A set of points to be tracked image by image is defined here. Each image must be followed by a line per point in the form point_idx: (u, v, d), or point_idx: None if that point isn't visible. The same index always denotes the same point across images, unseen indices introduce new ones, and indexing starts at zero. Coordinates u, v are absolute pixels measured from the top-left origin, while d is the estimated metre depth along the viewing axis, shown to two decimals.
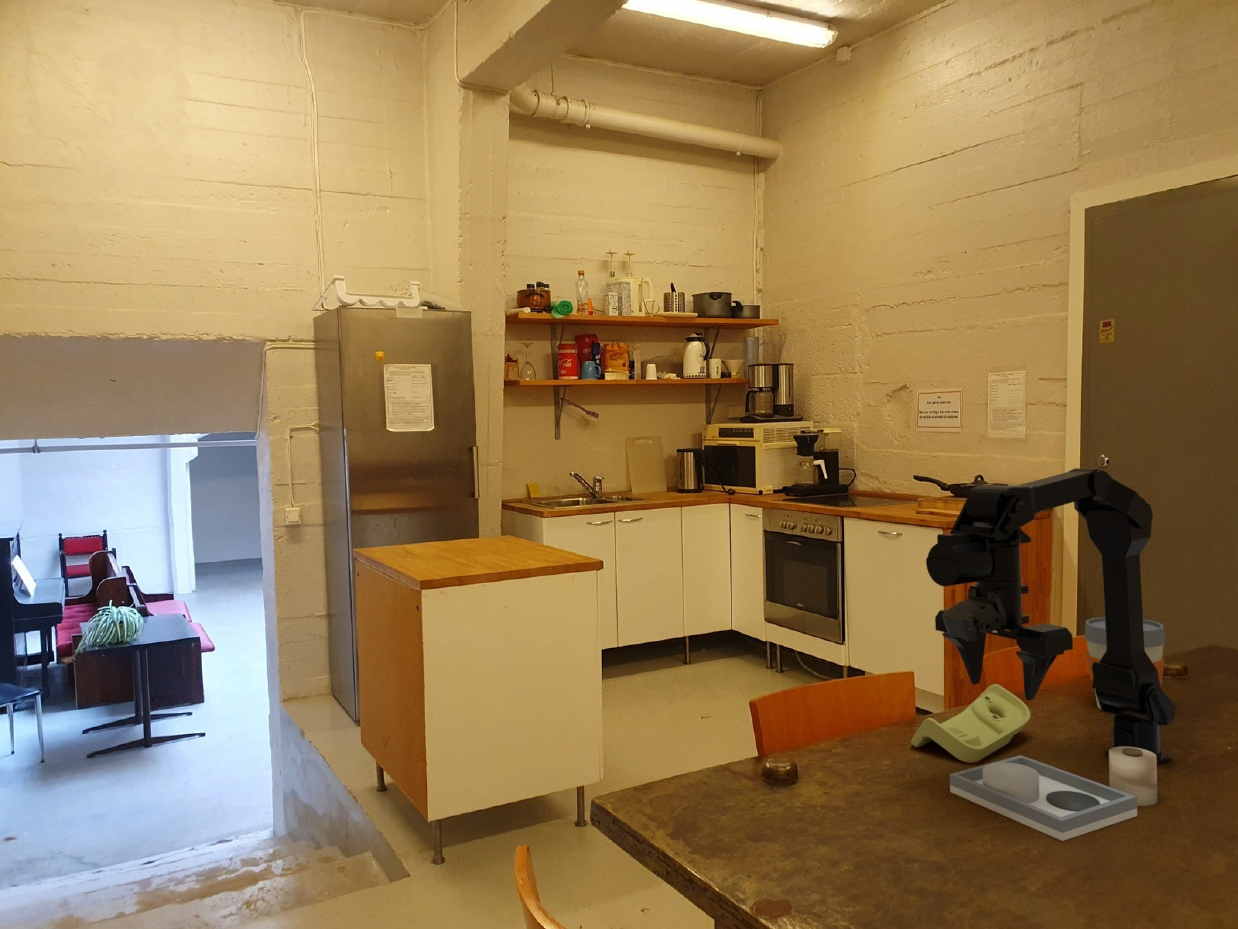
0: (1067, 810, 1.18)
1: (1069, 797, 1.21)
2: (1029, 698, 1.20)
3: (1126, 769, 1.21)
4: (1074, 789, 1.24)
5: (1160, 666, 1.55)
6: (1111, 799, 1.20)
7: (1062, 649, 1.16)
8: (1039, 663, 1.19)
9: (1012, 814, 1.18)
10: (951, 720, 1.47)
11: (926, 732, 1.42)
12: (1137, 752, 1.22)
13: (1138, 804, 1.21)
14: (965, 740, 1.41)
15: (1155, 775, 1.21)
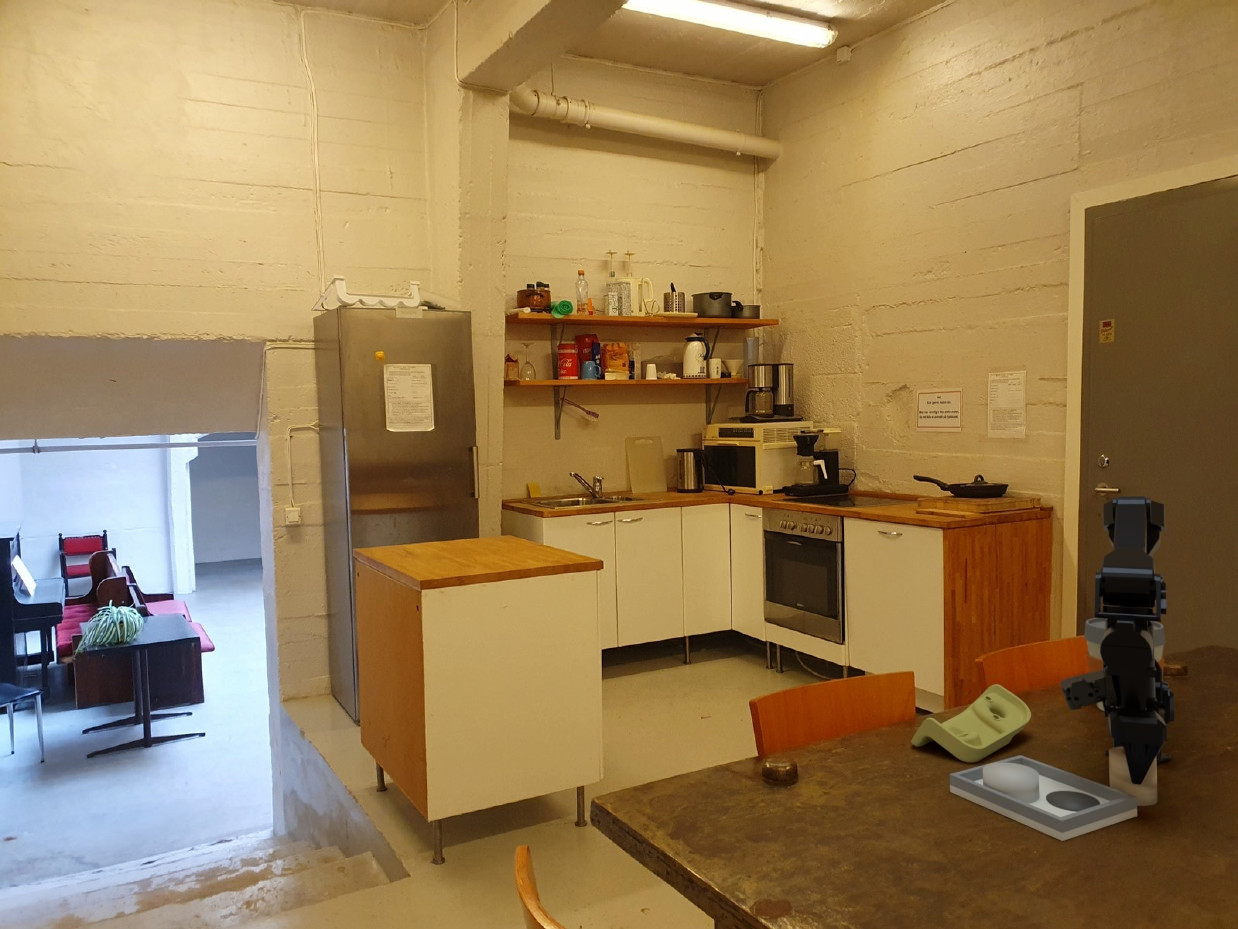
0: (1067, 810, 1.18)
1: (1069, 797, 1.21)
2: (1133, 781, 1.19)
3: (1126, 769, 1.21)
4: (1074, 789, 1.24)
5: (1160, 666, 1.55)
6: (1111, 799, 1.20)
7: (1144, 738, 1.14)
8: (1141, 749, 1.18)
9: (1012, 814, 1.18)
10: (952, 719, 1.47)
11: (926, 732, 1.42)
12: None
13: (1138, 804, 1.21)
14: (965, 740, 1.41)
15: (1155, 775, 1.21)
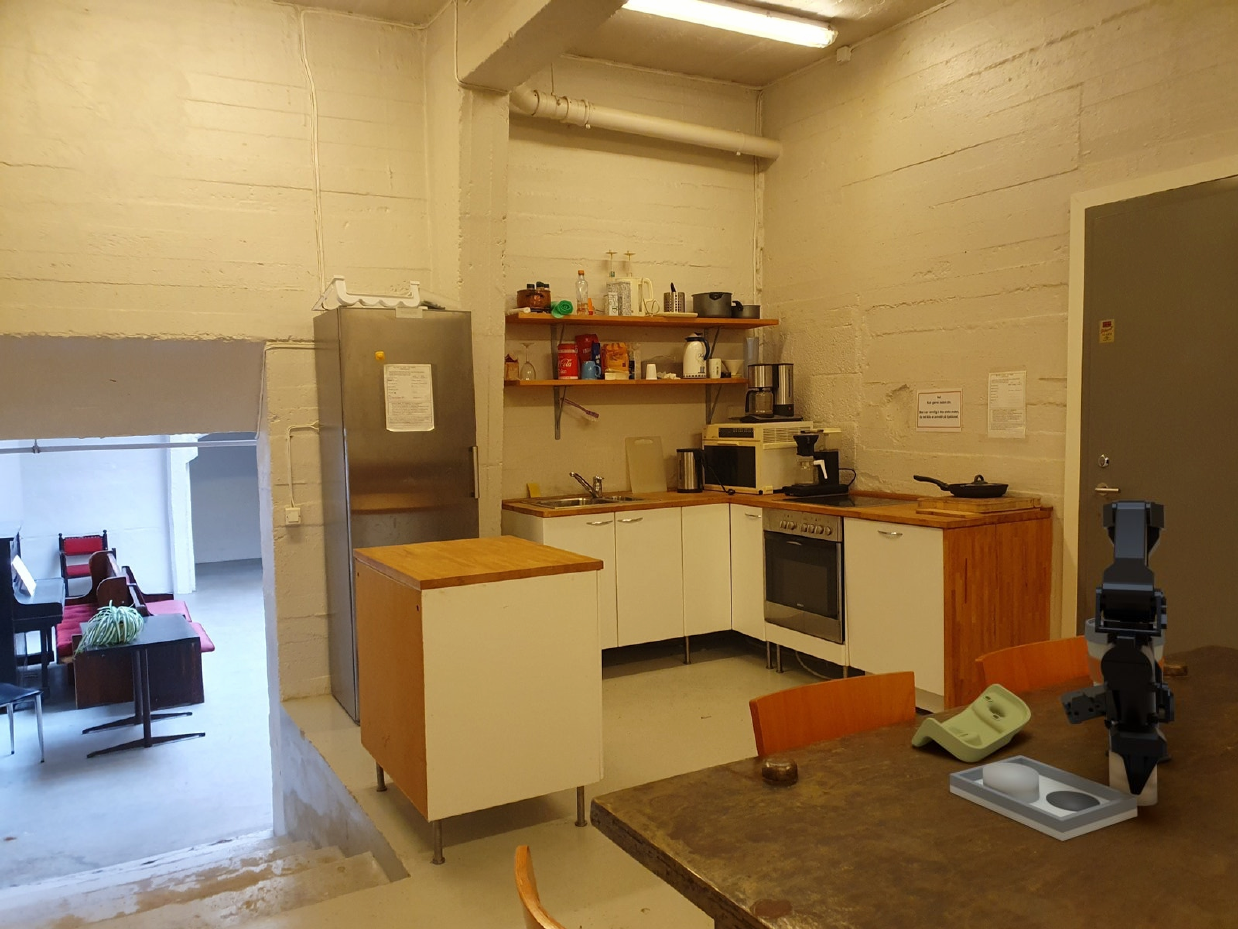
0: (1067, 810, 1.18)
1: (1069, 797, 1.21)
2: (1132, 792, 1.20)
3: None
4: (1074, 789, 1.24)
5: (1160, 666, 1.55)
6: (1111, 799, 1.20)
7: (1145, 754, 1.14)
8: (1140, 760, 1.19)
9: (1012, 814, 1.18)
10: (951, 719, 1.47)
11: (927, 732, 1.43)
12: None
13: (1138, 804, 1.21)
14: (966, 740, 1.41)
15: (1155, 775, 1.21)
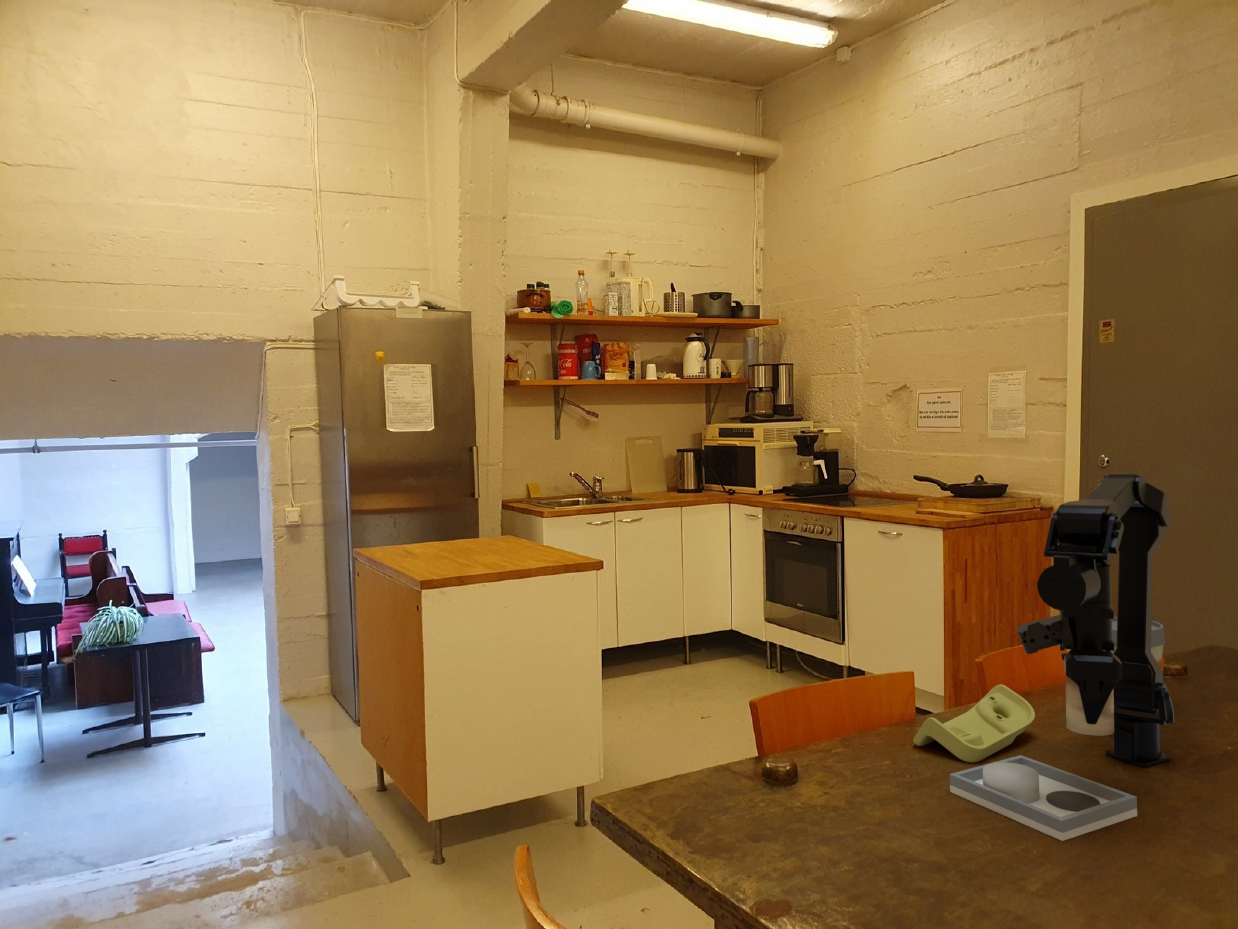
0: (1067, 810, 1.18)
1: (1069, 797, 1.21)
2: (1088, 721, 1.17)
3: None
4: (1074, 789, 1.24)
5: (1160, 666, 1.55)
6: (1111, 799, 1.20)
7: (1100, 677, 1.11)
8: (1096, 687, 1.16)
9: (1012, 814, 1.18)
10: (954, 719, 1.47)
11: (928, 731, 1.43)
12: None
13: (1094, 733, 1.18)
14: (967, 740, 1.41)
15: (1112, 704, 1.18)
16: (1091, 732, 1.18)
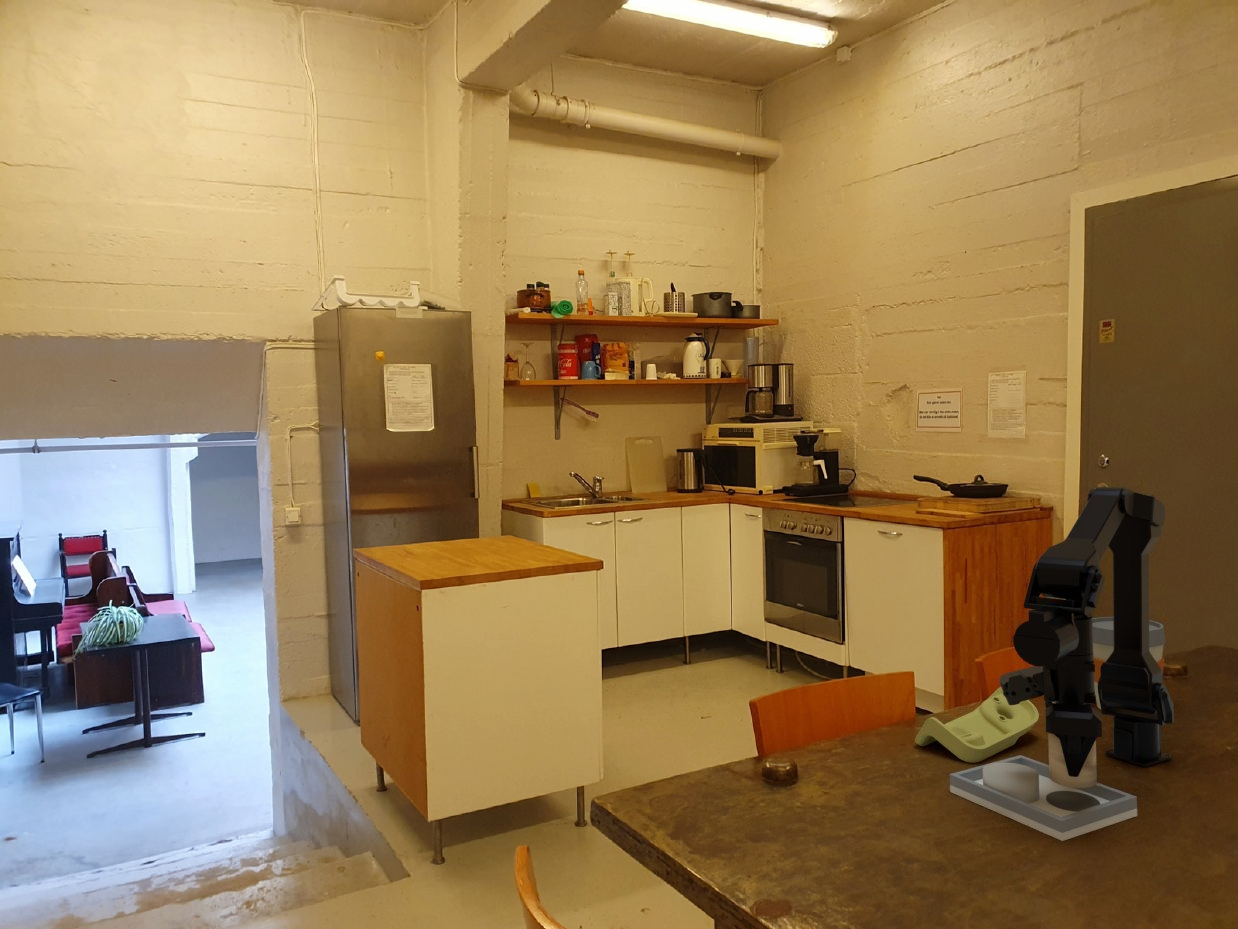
0: (1067, 810, 1.18)
1: (1069, 797, 1.21)
2: (1070, 774, 1.17)
3: None
4: (1074, 789, 1.24)
5: (1160, 666, 1.55)
6: (1111, 799, 1.20)
7: (1079, 734, 1.11)
8: (1077, 741, 1.16)
9: (1012, 814, 1.18)
10: (957, 719, 1.47)
11: (929, 731, 1.43)
12: None
13: (1076, 786, 1.17)
14: (968, 740, 1.41)
15: (1094, 756, 1.18)
16: (1073, 784, 1.18)
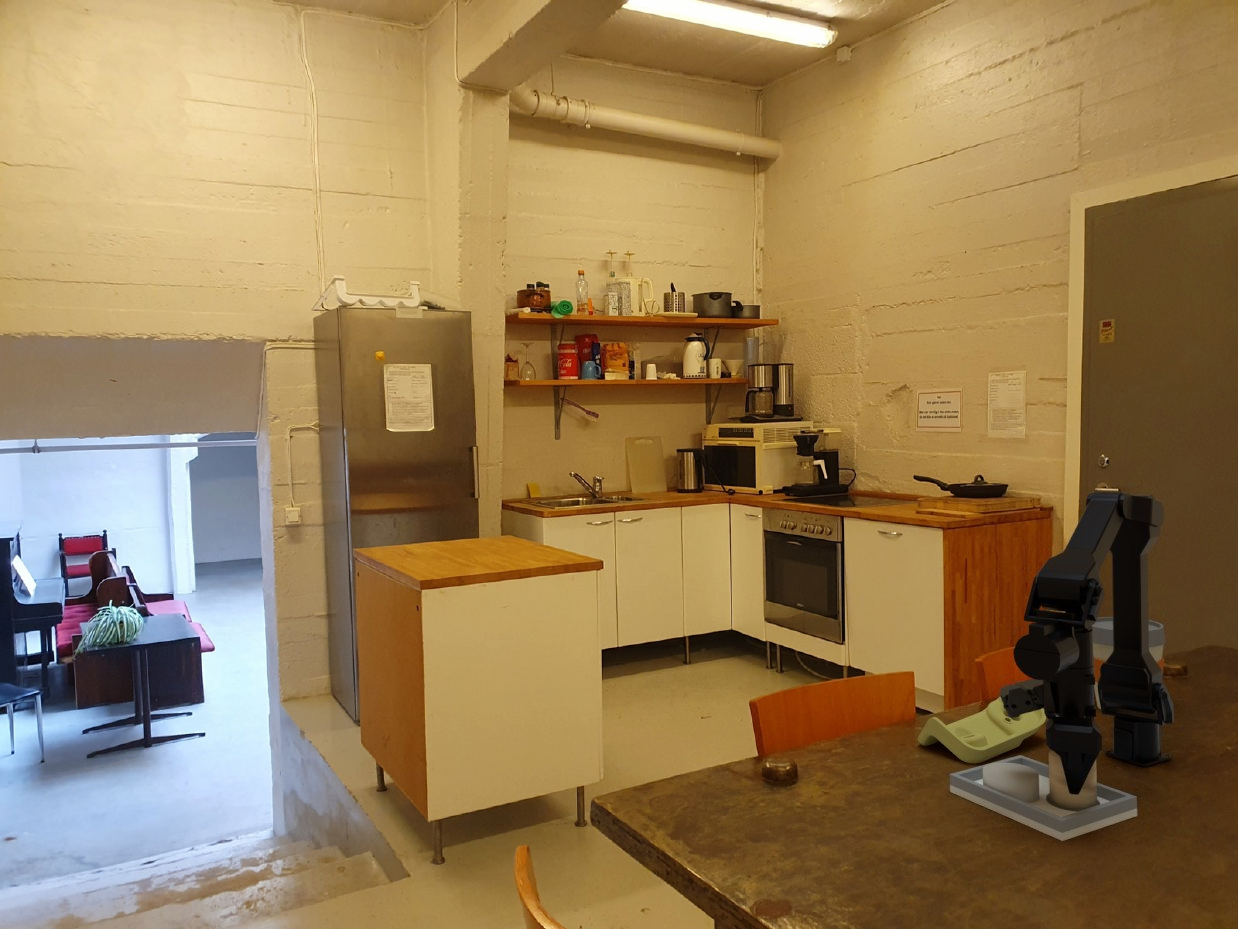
0: (1067, 810, 1.18)
1: None
2: (1070, 791, 1.16)
3: None
4: None
5: (1160, 666, 1.55)
6: (1111, 799, 1.20)
7: (1079, 748, 1.11)
8: (1078, 758, 1.14)
9: (1012, 814, 1.18)
10: (961, 720, 1.47)
11: (931, 731, 1.43)
12: None
13: (1077, 807, 1.18)
14: (969, 741, 1.40)
15: (1094, 777, 1.18)
16: (1073, 805, 1.18)
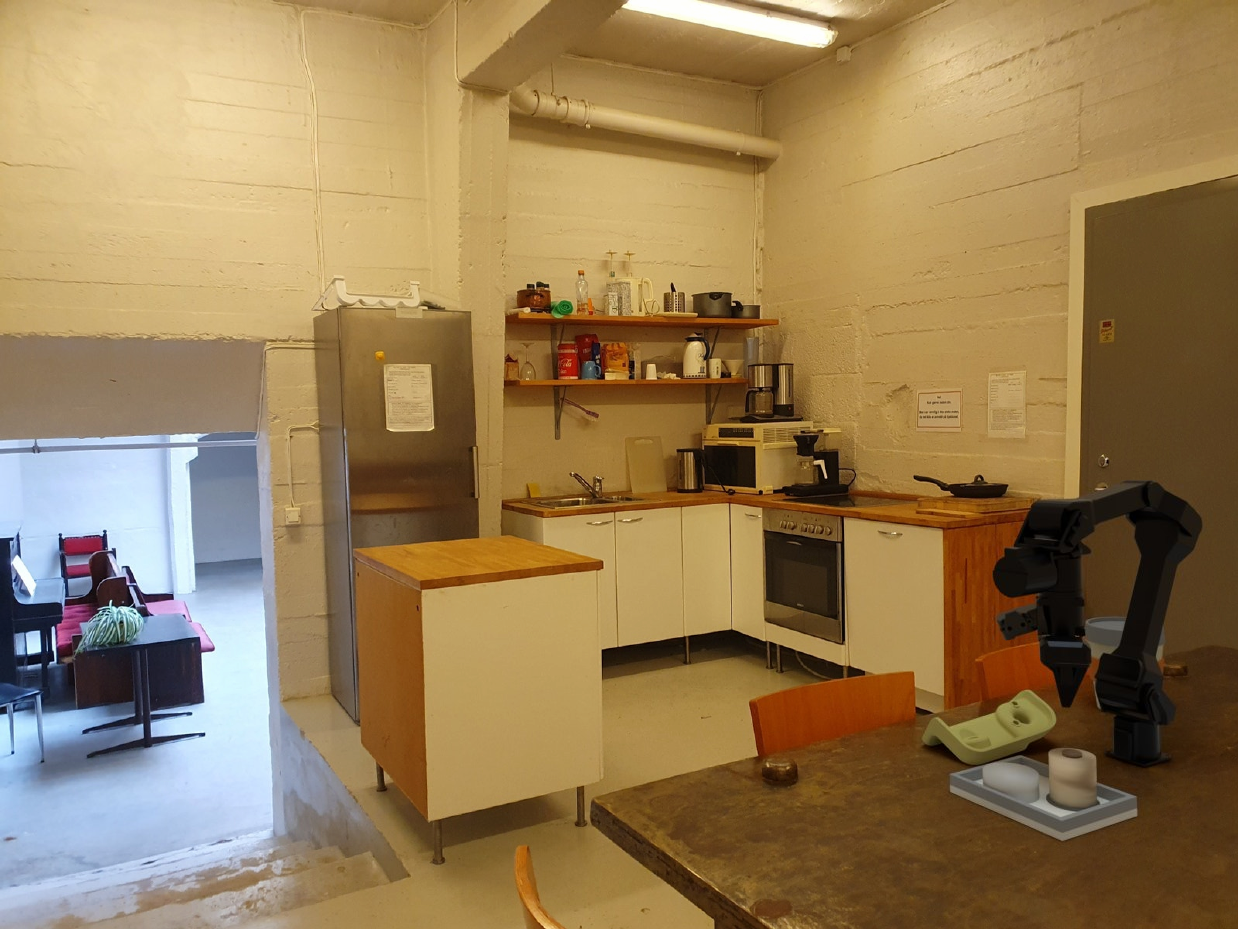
0: (1067, 810, 1.18)
1: None
2: (1062, 705, 1.25)
3: (1065, 771, 1.18)
4: None
5: (1160, 666, 1.55)
6: (1111, 799, 1.20)
7: (1071, 661, 1.21)
8: (1069, 673, 1.24)
9: (1012, 814, 1.18)
10: (968, 721, 1.46)
11: (933, 731, 1.43)
12: (1076, 754, 1.19)
13: (1077, 807, 1.18)
14: (972, 742, 1.40)
15: (1094, 777, 1.18)
16: (1073, 805, 1.18)
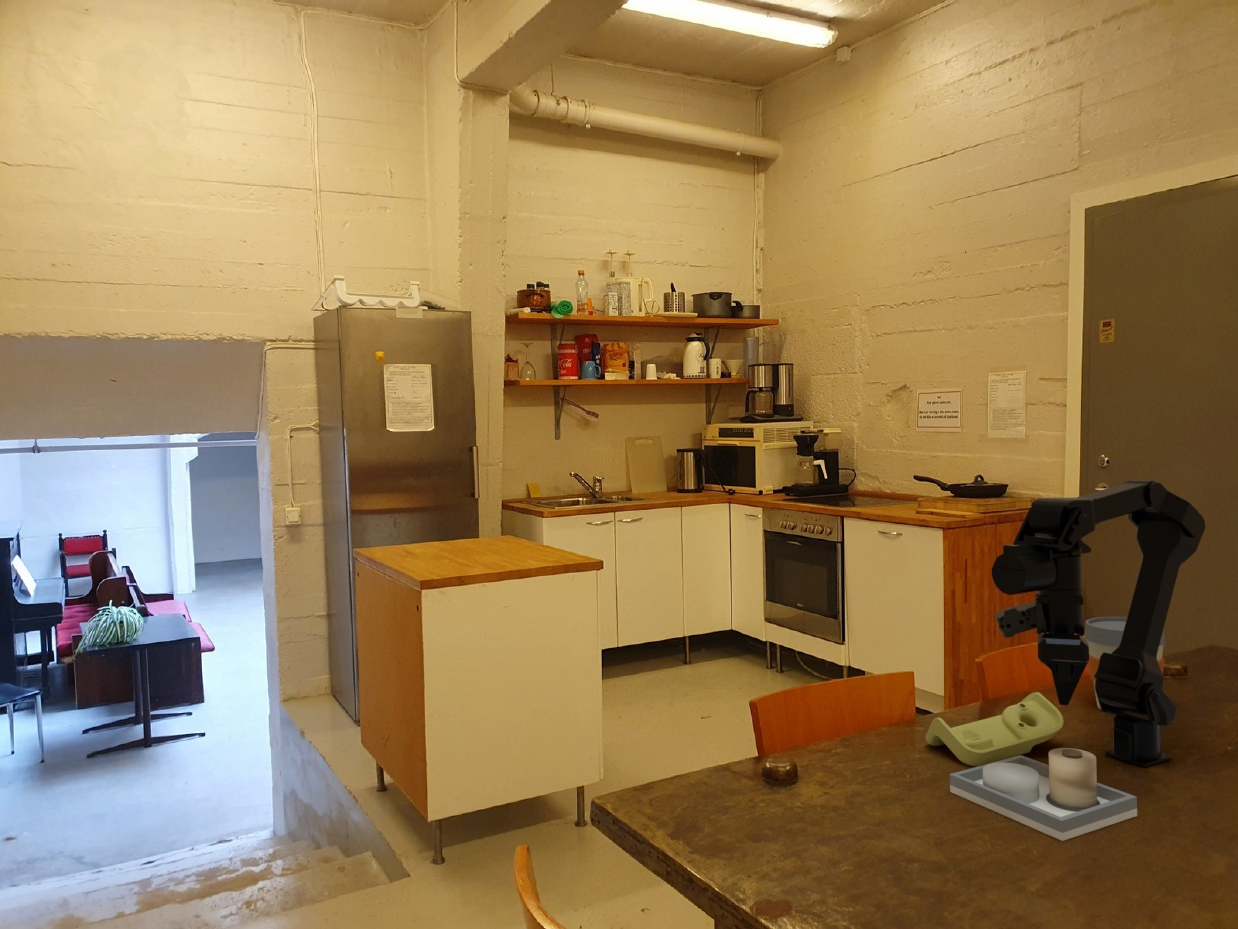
0: (1067, 810, 1.18)
1: None
2: (1060, 702, 1.26)
3: (1065, 772, 1.18)
4: None
5: (1160, 666, 1.55)
6: (1111, 799, 1.20)
7: (1068, 659, 1.21)
8: (1067, 671, 1.24)
9: (1012, 814, 1.18)
10: (973, 722, 1.45)
11: (935, 731, 1.43)
12: (1077, 754, 1.19)
13: (1077, 807, 1.18)
14: (973, 743, 1.39)
15: (1094, 777, 1.18)
16: (1073, 805, 1.18)
